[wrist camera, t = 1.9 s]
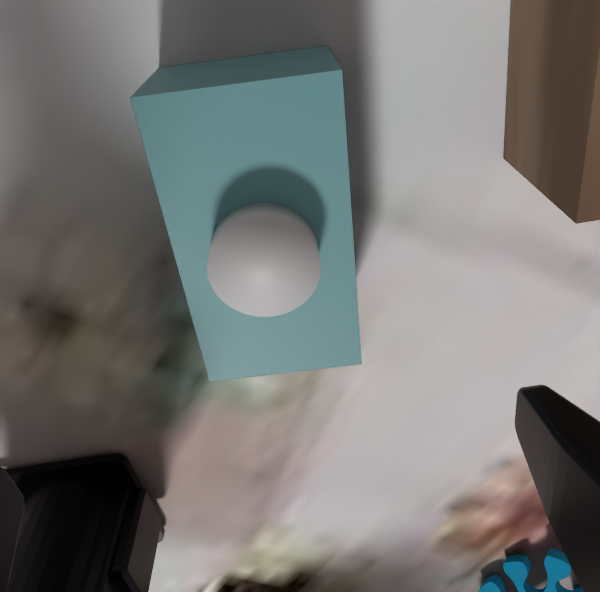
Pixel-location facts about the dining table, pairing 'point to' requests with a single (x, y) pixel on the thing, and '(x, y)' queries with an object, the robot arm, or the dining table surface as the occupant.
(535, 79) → the walnut stand
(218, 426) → the dining table surface
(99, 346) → the dining table surface
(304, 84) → the block
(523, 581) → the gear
